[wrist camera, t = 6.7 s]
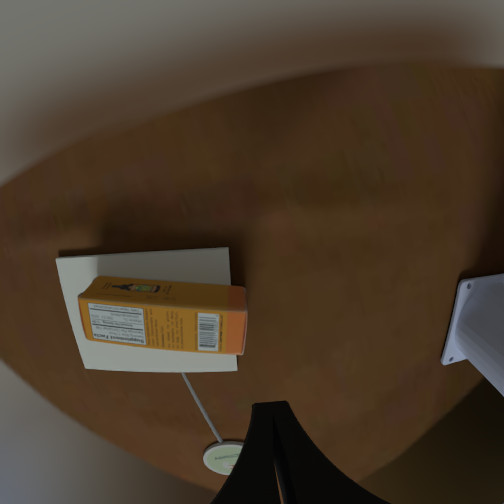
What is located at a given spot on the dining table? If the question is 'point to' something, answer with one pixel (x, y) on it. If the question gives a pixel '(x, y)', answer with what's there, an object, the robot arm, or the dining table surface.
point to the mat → (152, 268)
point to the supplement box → (165, 315)
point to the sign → (218, 445)
